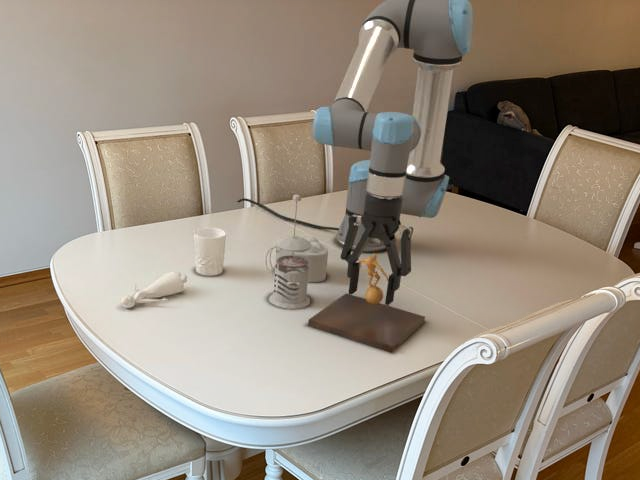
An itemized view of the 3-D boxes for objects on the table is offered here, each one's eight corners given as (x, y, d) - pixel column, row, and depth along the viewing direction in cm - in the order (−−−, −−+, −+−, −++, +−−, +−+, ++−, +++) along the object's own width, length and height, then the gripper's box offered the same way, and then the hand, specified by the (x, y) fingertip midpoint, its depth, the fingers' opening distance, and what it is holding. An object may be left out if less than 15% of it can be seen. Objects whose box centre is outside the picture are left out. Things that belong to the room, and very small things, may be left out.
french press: (296, 312, 158) (305, 204, 146) (254, 298, 163) (258, 192, 151) (318, 298, 166) (327, 194, 153) (276, 285, 171) (283, 184, 158)
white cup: (230, 269, 178) (231, 231, 173) (215, 279, 172) (215, 240, 167) (203, 262, 181) (203, 225, 176) (187, 272, 174) (187, 234, 169)
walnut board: (308, 325, 153) (308, 319, 152) (345, 298, 167) (346, 293, 166) (392, 352, 144) (393, 346, 144) (424, 322, 158) (425, 316, 157)
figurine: (393, 308, 152) (401, 256, 146) (375, 315, 149) (383, 261, 143) (364, 294, 157) (372, 244, 152) (346, 301, 154) (353, 249, 148)
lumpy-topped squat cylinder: (294, 261, 186) (296, 229, 181) (334, 274, 179) (338, 242, 175) (269, 271, 178) (271, 239, 174) (311, 286, 172) (314, 253, 167)
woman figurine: (199, 276, 161) (137, 303, 149) (200, 294, 163) (139, 321, 151) (166, 262, 167) (103, 286, 155) (167, 279, 169) (106, 304, 158)
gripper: (440, 200, 140) (421, 304, 151) (346, 180, 148) (336, 280, 160) (426, 209, 134) (408, 316, 145) (330, 187, 143) (320, 290, 154)
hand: (370, 297), depth 152 cm, fingers closed on figurine, 8 cm apart
